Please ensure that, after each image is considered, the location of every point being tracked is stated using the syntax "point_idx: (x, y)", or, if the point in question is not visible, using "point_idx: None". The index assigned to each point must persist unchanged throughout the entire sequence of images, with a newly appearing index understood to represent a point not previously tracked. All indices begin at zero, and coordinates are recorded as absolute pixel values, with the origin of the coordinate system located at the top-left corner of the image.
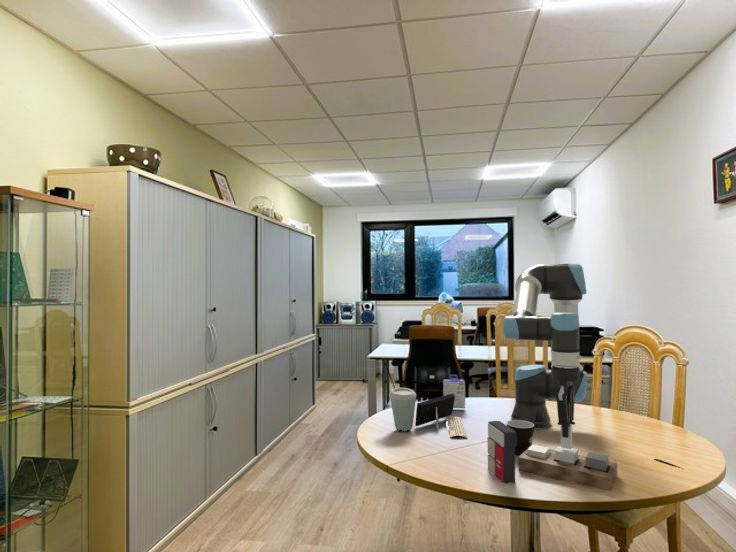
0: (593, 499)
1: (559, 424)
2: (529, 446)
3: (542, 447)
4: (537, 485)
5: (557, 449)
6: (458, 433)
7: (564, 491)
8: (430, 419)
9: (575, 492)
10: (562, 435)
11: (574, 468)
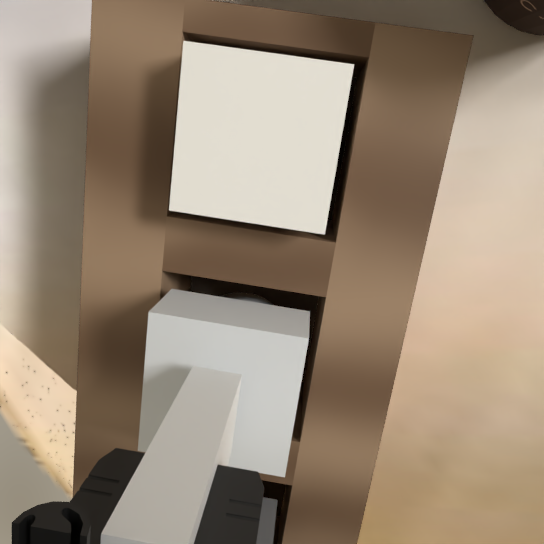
0: (45, 437)
1: (30, 532)
2: (542, 10)
3: (308, 172)
4: (44, 169)
5: (194, 326)
6: None
7: (54, 313)
8: None
9: (74, 363)
10: (100, 460)
11: (97, 411)
